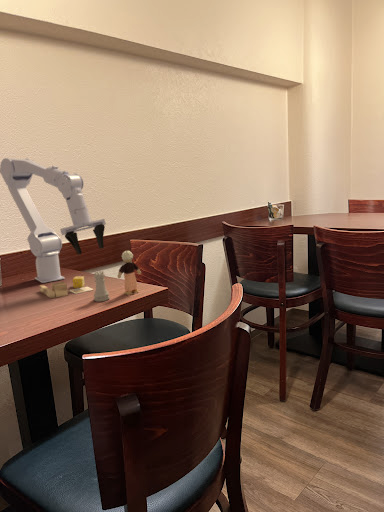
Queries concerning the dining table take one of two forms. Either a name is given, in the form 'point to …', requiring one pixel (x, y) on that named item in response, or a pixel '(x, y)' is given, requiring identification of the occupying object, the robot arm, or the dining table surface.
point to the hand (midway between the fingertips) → (91, 251)
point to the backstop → (47, 291)
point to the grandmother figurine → (129, 273)
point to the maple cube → (59, 289)
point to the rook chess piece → (100, 288)
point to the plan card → (81, 290)
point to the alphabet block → (78, 281)
